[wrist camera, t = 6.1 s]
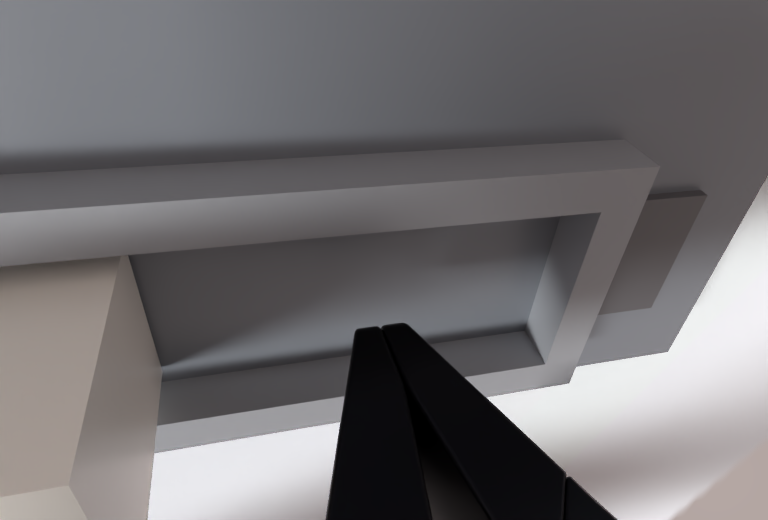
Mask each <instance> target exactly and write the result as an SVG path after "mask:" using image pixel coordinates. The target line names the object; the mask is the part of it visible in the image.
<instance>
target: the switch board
mask: <svg viewBox="0 0 768 520" xmlns="http://www.w3.org/2000/svg"><path fill="white" fill-rule="evenodd" d="M767 176H768V0H0V267H3V266H14V265H25V264H36V263H47V262H58V261H69V260H80V259H91V258H102V257H113V256H124V255H128V257H129V260H130V264H131V267H132V270H133V274H134V277H135V281H136V284H137V287H138V291H139V294H140V297H141V301H142V304H143V308H144V311H145V314H146V318H147V321H148V325H149V328H150V331H151V335H152V338H153V341H154V345H155V348H156V352H157V355H158V358H159V362H160V365H161V368H162V381H161V390H160V400H159V410H158V420H157V429H156V439H155V449H154V453H158V452H164V451H170V450H176V449H182V448H188V447H194V446H200V445H206V444H212V443H218V442H224V441H229V440H235V439H241V438H247V437H253V436H259V435H265V434H271V433H277V432H283V431H289V430H295V429H301V428H307V427H313V426H318V425H324V424H330V423H336V422H341V416H342V409H343V403H344V397H345V390H346V384H347V377H348V371H349V364H350V358H351V351H352V345H353V339H354V333H355V330H356V329H358V328H365V327H372V326H378V327H380V328H381V327H382V326H383V325H387V324H395V323H406V324H408V325H409V326H410V327H411V328H412V329H414V330H415V331H416V332H417V333H418V334H419V335H420V336H421V337H422V338H423V339H424V340H425V341H426V342H427V343H428V344H430V345H431V346H432V347H433V348H434V349H435V350H436V351H437V352H438V353H439V354H440V355H441V356H442V357H443V358H444V359H445V360H447V361H448V362H449V363H450V364H451V365H452V366H453V367H454V368H455V369H456V370H457V371H458V372H459V373H460V374H461V375H463V376H464V377H465V378H466V379H467V380H468V381H469V382H470V383H471V384H472V385H473V386H474V387H475V388H476V389H477V390H478V391H480V392H481V393H482V394H483V395H484V396H485V397H490V396H496V395H502V394H508V393H514V392H520V391H526V390H532V389H538V388H544V387H550V386H556V385H562V384H567V383H569V382H570V380H571V377H572V375H573V372H574V370H575V368H576V367H577V366H583V365H589V364H595V363H601V362H608V361H614V360H620V359H626V358H632V357H639V356H645V355H651V354H657V353H663V352H668V351H669V349H670V347H671V345H672V343H673V342H674V340H675V338H676V336H677V335H678V333H679V331H680V329H681V328H682V326H683V324H684V322H685V320H686V319H687V317H688V315H689V313H690V312H691V310H692V308H693V306H694V305H695V303H696V301H697V299H698V298H699V296H700V294H701V292H702V290H703V289H704V287H705V285H706V283H707V282H708V280H709V278H710V276H711V275H712V273H713V271H714V269H715V267H716V266H717V264H718V262H719V260H720V259H721V257H722V255H723V253H724V252H725V250H726V248H727V246H728V245H729V243H730V241H731V239H732V237H733V236H734V234H735V232H736V230H737V229H738V227H739V225H740V223H741V222H742V220H743V218H744V216H745V214H746V213H747V211H748V209H749V207H750V206H751V204H752V202H753V200H754V199H755V197H756V195H757V193H758V192H759V190H760V188H761V186H762V184H763V183H764V181H765V179H766V177H767Z"/></svg>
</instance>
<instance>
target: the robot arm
mask: <svg viewBox="0 0 768 520" xmlns="http://www.w3.org/2000/svg"><path fill="white" fill-rule="evenodd" d="M325 520H617V519H616V518H615V517H614V516H613V515H612V514H611V513H610V512H608V511H607V510H606V509H605V508H604V507H603V506H602V505H601V504H599V503H598V502H597V501H596V500H595V499H594V498H593V497H592V496H591V495H590V494H588V493H587V492H586V491H585V490H584V489H583V488H582V487H581V486H580V485H579V484H578V483H577V482H576V481H575V480H574V479H573V478H571V477H567V478H566V472H565V471H564V470H563V469H562V468H561V467H559V466H558V465H557V464H556V463H555V462H554V461H553V460H552V459H551V458H550V457H549V456H548V455H547V454H546V453H545V452H543V451H542V450H541V449H540V448H539V447H538V446H537V445H536V444H535V443H534V442H533V441H532V440H531V439H530V438H529V437H527V436H526V435H525V434H524V433H523V432H522V431H521V430H520V429H519V428H518V427H517V426H516V425H515V424H514V423H513V422H512V421H510V420H509V419H508V418H507V417H506V416H505V415H504V414H503V413H502V412H501V411H500V410H499V409H498V408H497V407H496V406H494V405H493V404H492V403H491V402H490V401H489V400H488V399H487V398H486V397H485V396H484V395H483V394H482V393H481V392H480V391H478V390H477V389H476V388H475V387H474V386H473V385H472V384H471V383H470V382H469V381H468V380H467V379H466V378H465V377H464V376H463V375H461V374H460V373H459V372H458V371H457V370H456V369H455V368H454V367H453V366H452V365H451V364H450V363H449V362H448V361H447V360H445V359H444V358H443V357H442V356H441V355H440V354H439V353H438V352H437V351H436V350H435V349H434V348H433V347H432V346H431V345H430V344H428V343H427V342H426V341H425V340H424V339H423V338H422V337H421V336H420V335H419V334H418V333H417V332H416V331H415V330H414V329H412V328H411V327H410V326H409V325H408V324H406V323H395V324H387V325H383V326H382V327H381V328H380V327H378V326H372V327H365V328H358V329H356V330H355V333H354V339H353V345H352V351H351V358H350V364H349V371H348V377H347V384H346V390H345V397H344V403H343V409H342V416H341V422H340V429H339V435H338V442H337V448H336V454H335V461H334V467H333V474H332V480H331V487H330V493H329V500H328V506H327V512H326V519H325Z"/></svg>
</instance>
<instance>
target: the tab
mask: <svg viewBox="0 0 768 520" xmlns="http://www.w3.org/2000/svg"><path fill="white" fill-rule="evenodd" d="M161 381H162V368H161V365H160V362H159V358H158V355H157V352H156V348H155V345H154V341H153V338H152V335H151V331H150V328H149V325H148V321H147V318H146V314H145V311H144V308H143V304H142V301H141V297H140V294H139V291H138V287H137V284H136V281H135V277H134V274H133V270H132V267H131V264H130V260H129V257H128V255H124V256H113V257H102V258H91V259H80V260H69V261H58V262H47V263H36V264H25V265H14V266H3V267H0V520H147V517H148V507H149V497H150V488H151V478H152V468H153V458H154V449H155V439H156V429H157V420H158V410H159V400H160V390H161Z"/></svg>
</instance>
